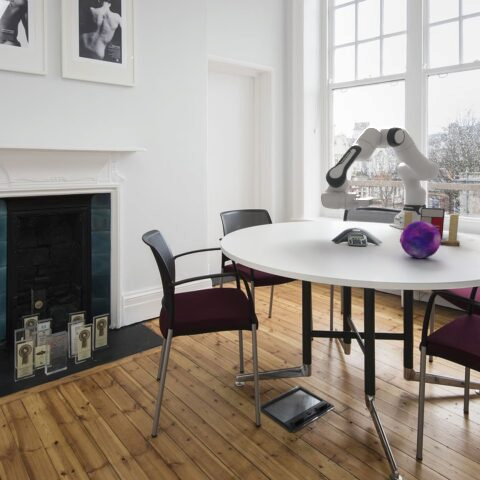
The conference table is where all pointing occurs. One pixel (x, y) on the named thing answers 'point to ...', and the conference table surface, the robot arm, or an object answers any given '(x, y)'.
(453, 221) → the fixed leg
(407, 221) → the sliding leg
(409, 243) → the decorative orb
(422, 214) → the red and grey box
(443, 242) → the rail
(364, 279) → the conference table surface
